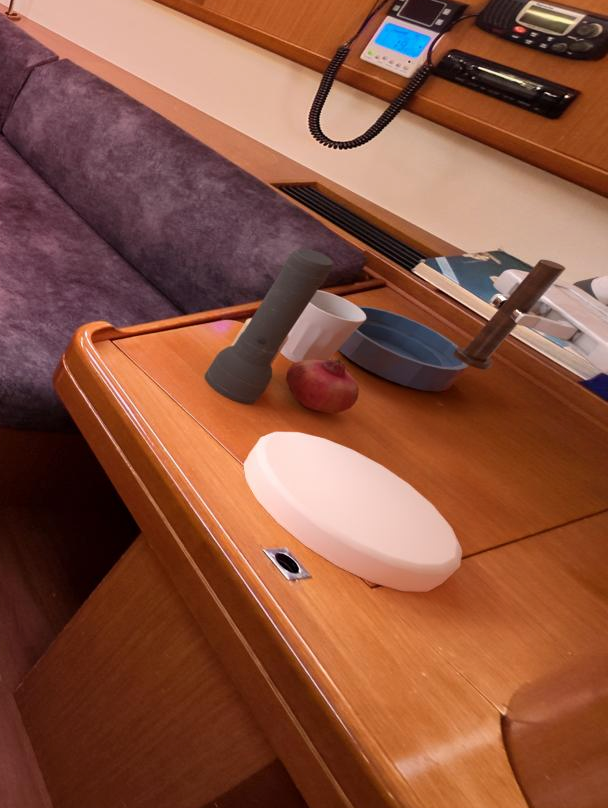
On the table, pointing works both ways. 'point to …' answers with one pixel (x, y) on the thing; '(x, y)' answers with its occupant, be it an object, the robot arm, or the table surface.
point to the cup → (322, 328)
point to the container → (352, 511)
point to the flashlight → (268, 328)
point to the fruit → (322, 385)
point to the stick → (501, 322)
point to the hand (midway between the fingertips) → (505, 308)
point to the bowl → (403, 351)
